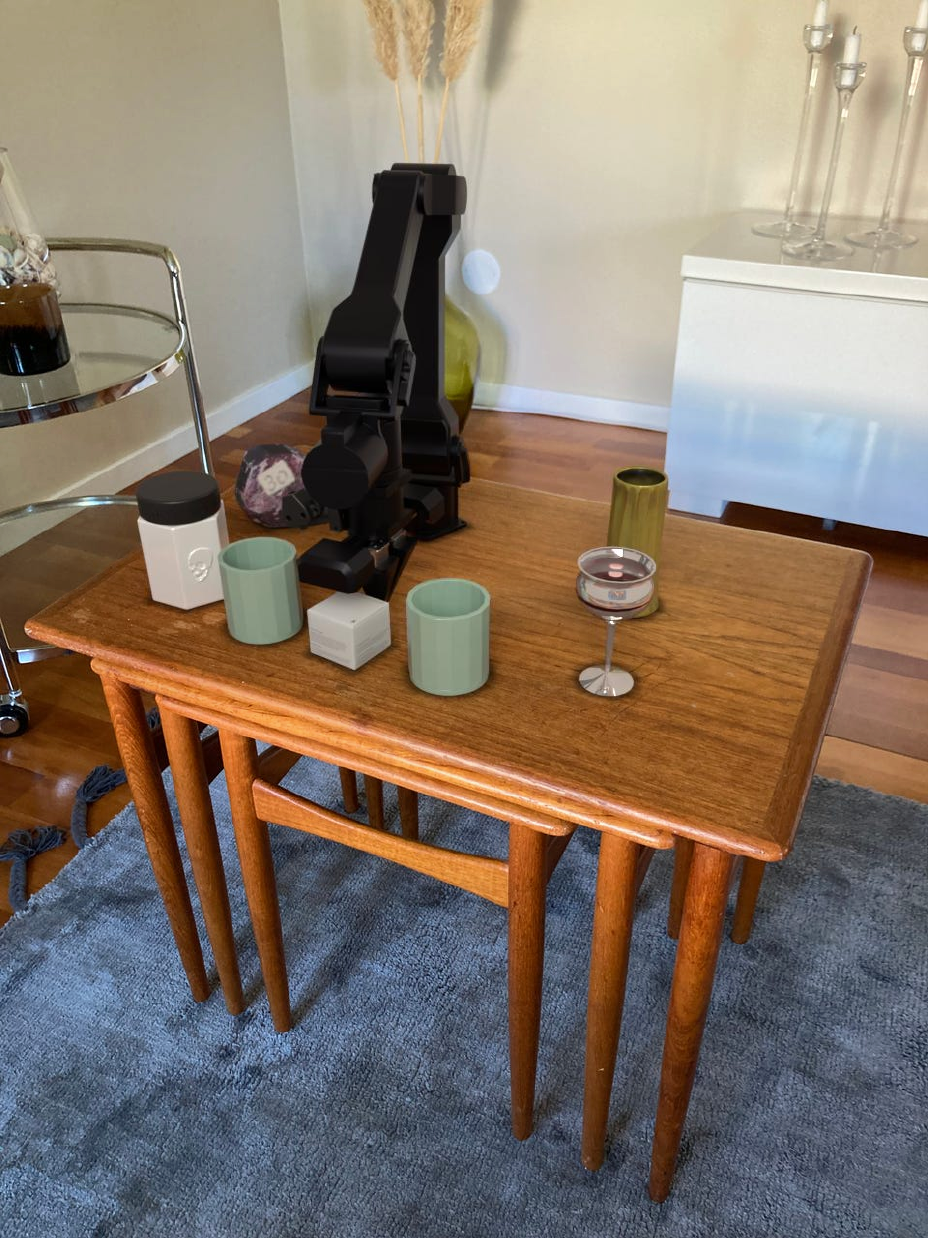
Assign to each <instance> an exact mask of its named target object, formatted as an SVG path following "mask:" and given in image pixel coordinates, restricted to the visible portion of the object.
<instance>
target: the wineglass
mask: <svg viewBox="0 0 928 1238" xmlns="http://www.w3.org/2000/svg"><path fill="white" fill-rule="evenodd" d="M577 566H578V568H579V571H578V572H577V576H576V580H575V583H574V584H575V589H574V590H575V593H576V596H577V598H578V600H579V603H580V605H581V606H582V607H583V608H584V609H585V610H586V611H588V612H589V613H590V614H591V615H592V616H594V617H595V618H597V619H599V620H602V621H604V623H606V640H605V662H604V663H605V664H600V665H593V666H589V667H587V668H585V669H584V670H583V671H581V673H580V674H579V678H578V681H579V683H580V685H581V687H582V688H584V689H585V690H586V691H587V692H589V693H591V694H595V695H597V696H602V697H618V696H621V695H625V694H626V693H628V692H630V691H631V690H632V688H634V685H635V684H634V683H635V681H634V678H633V676H632V674H630V673H629V672H628V671H626V670H624V669H623V668H621V667H618V666H614V665H611V662H612V655H613V648H614V641H615V634H616V626H617V624H619V623H620V622H625V621H626V622H627V621H629V620H632V619H634V618H633V617H634V616H636V615H638V614H639V613H641V612H642V611H644V610H645V609H646V608H647V606H648V605H649V603H650V601H651V600H652V597H653V594H654V579H653V577H652V575H653V574H654V573H655V571H656V564H655V562H654V561H653V559H652V558H650V557H649V556H648V555H646V554H644V553H642V552H639V551H637V550H634V549H629V548H625V547H607V546H600V547H596V548H592V549H589V550H587V551H585V552H583V553H582V554H581V555H580V556H579V557H578V560H577Z"/></svg>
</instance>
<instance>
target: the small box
mask: <svg viewBox="0 0 928 1238" xmlns="http://www.w3.org/2000/svg"><path fill="white" fill-rule="evenodd" d="M306 614H307V615H306V616H307V624H308V634H309V643H310V644H309V646H310V653H312V654H314V655H316V656H319V657H321V658H324V659H326V660H329V661H332V662H334V663H335V664H339V665H340V666H343V667H346V668H348V669H350V670H352V671H356V670H357V669H359V668H360V667H362V666H363V665H365V664H366V663H368V662H370V660H372V659H374V658H375V657H376V656H378V655H379V654H380V653H382V652H384V651H385V650H386V649H388V648H390V646H391V644H392V639H391V637H392V636H391V617H390V614H391V613H390V602H389V603H388V602H385V601H382V600H379V599H376V598H373V597H370V596H367V595H365V593H361V592H359V591H358V592H356V593H351V594H346V593H342V592H338V591H335V593H333V594H332V595H330V596H329V597H327V598H325V599H323V600H322V601H320V602H318V603H317V604H314V605H313V606H312V607H310V608H308V609H307V610H306Z"/></svg>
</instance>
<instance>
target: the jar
mask: <svg viewBox="0 0 928 1238" xmlns="http://www.w3.org/2000/svg"><path fill="white" fill-rule="evenodd" d="M134 493H135V497H136V503H137V507H138V508H137V509H138V514H139V516H138V519H137V526H138V527H137V528H138V532H139V535H140V542H141V548H142V552H143V557H144V562H145V567H146V572H147V573H146V574H147V577H148V583H149V589H150V593H151V598H152V600H153V601H154V602H156V603H157V602H158V603H161V604H164V605H168V606H171V607H175V608H178V609H181V610H186V611H189V610H191V609H195V608H199V607H202V606H206V605H209V604H212V603H216V602H219V601H222V600H223V601H224V598H223V591H222V584H221V578H220V571H219V565H218V558H217V556H218V554H219V553H220V551H221V550H222V549H223V548H225V547H226V546H228V545H229V544H230V538H229V530H228V524H227V518H226V509H225V504H224V502H225V501H224V500H223V499H222V497H221V492H220V486H219V480H218V479H217V477H215V476H213V475H212V474H210V473H207V472H204V471H197V470H175V471H167V472H164V473H159V474H156V475H153V476H150V477H148V478H146V479H145V480H142V481H141V482H140V483H138V484H137V486H136V488H135V492H134Z"/></svg>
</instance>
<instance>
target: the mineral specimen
mask: <svg viewBox="0 0 928 1238" xmlns="http://www.w3.org/2000/svg"><path fill="white" fill-rule="evenodd" d="M306 456H307V454H305V453H304V452H302V451H300V450H298V449H297V448H295V447H293V446H291V445H290V444H285V443H266V444H258V445H252V446H249V448H248V449H247V450H246V451H245V452H244V455H243V457H242V460H241V464H240V466H239V471H238V474H237V477H236V481H235V484H234V490H233V491H234V497H235V501H236V503H237V504H238V506H239V507H240V508H241V510H242V511H243V512H244V513H245V514H246V515H247V516H248V518H249V519H251V521H252V522H254V523H257V524H260V525H262V526H263V527H266V528H271V529H278V528H291V527H290V526H289V525H287V523H286V521H285V519H284V518H283V516H282V514H283V513H282V497H283V496H284V495H286V494H287V493H289V492H290V491H293V490H294V491H295V492H297V491H298V490H300V489H303V488H304V485H303V481H302V477H301V469H302V465H303V461H304V459H305V457H306Z"/></svg>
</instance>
